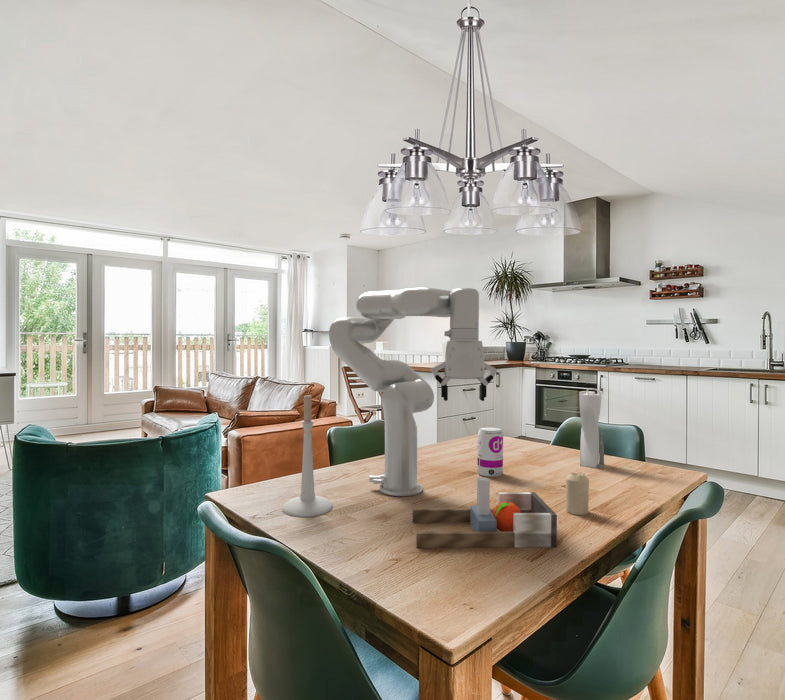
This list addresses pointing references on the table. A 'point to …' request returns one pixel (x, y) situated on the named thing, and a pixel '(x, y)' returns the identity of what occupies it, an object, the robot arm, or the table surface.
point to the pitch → (528, 531)
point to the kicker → (482, 508)
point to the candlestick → (307, 476)
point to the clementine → (505, 515)
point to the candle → (577, 494)
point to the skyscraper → (590, 430)
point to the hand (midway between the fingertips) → (463, 400)
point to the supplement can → (490, 451)
